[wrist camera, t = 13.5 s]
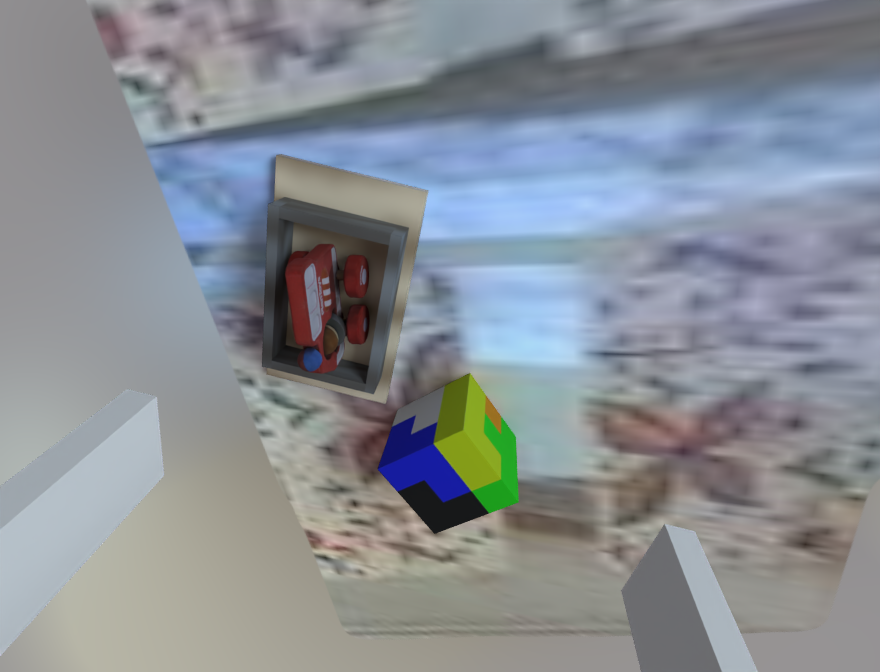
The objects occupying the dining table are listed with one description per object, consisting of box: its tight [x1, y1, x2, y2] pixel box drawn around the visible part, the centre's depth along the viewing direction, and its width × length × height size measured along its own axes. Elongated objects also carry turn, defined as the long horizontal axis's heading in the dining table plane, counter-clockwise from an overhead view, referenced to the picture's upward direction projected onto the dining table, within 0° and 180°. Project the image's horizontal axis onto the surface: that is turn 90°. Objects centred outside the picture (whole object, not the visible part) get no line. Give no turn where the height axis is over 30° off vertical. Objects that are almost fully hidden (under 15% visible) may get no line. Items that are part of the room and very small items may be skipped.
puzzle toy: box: [378, 373, 518, 534], centre depth 50 cm, size 10×10×10 cm
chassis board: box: [262, 154, 428, 404], centre depth 46 cm, size 24×14×4 cm, turn 168°
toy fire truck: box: [285, 244, 370, 374], centre depth 42 cm, size 7×12×10 cm, turn 178°
